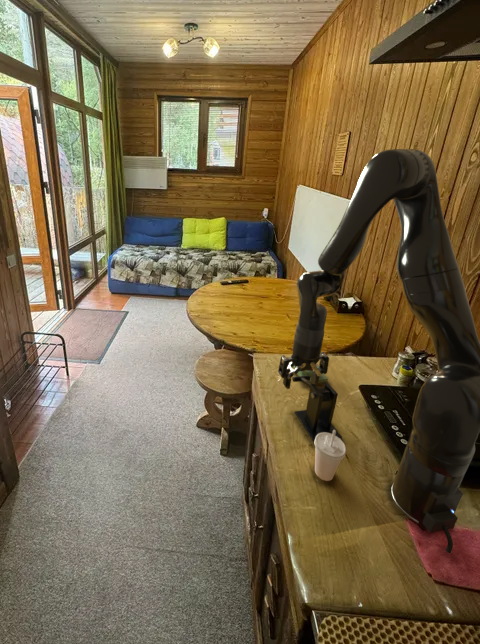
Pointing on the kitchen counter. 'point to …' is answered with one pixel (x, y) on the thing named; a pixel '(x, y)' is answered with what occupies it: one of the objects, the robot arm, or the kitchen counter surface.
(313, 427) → the bracket
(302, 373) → the control block
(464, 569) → the kitchen counter surface
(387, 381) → the kitchen counter surface
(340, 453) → the smoothie
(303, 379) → the lever
